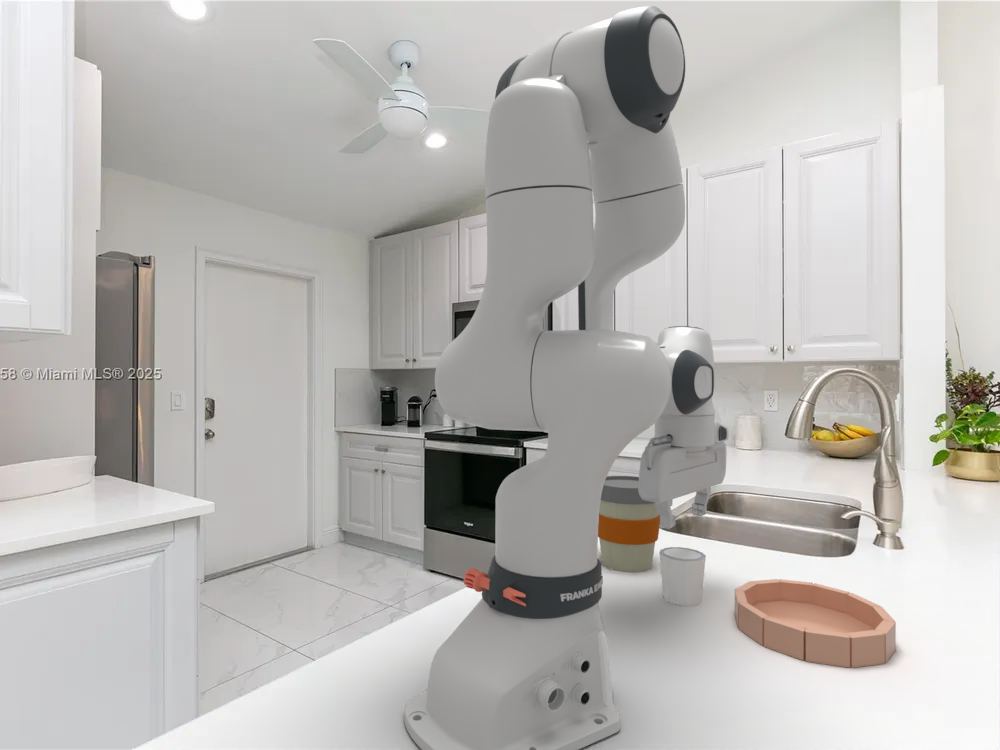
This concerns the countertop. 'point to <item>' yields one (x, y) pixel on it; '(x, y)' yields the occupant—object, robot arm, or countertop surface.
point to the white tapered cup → (682, 575)
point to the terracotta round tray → (815, 622)
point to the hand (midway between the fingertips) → (684, 520)
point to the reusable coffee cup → (626, 526)
